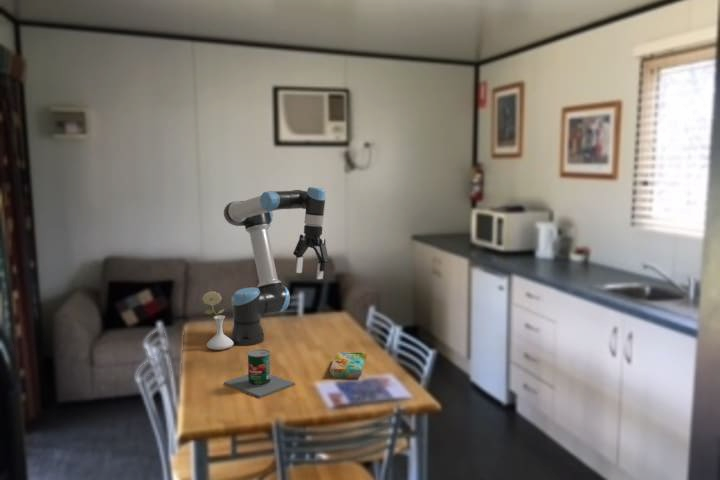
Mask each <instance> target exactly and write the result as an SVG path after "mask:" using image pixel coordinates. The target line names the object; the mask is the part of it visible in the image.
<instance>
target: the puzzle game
mask: <svg viewBox="0 0 720 480" xmlns="http://www.w3.org/2000/svg"><path fill="white" fill-rule="evenodd" d="M366 360H367V352H350V351H349V352H348V351H347V352H346V351H345V352H344V351H343V352H342V351H337V353H336V355H335V357H334V359H333V361H332V362H331V365H330V368H329V372H330V374H331V375H332V377H334V378H352V379H355V378H360V377H361V376H362V373H363V370H364V366H365V363H366Z"/></svg>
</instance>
